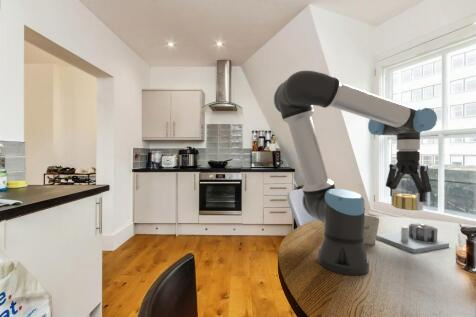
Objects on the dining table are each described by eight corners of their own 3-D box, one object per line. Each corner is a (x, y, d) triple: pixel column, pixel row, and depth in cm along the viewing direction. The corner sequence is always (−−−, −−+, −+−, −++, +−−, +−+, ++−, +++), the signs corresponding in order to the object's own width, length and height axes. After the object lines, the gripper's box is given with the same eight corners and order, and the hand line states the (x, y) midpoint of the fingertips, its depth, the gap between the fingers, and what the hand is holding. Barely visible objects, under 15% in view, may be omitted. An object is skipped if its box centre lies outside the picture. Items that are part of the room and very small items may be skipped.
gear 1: (410, 211, 89) (410, 198, 89) (387, 206, 98) (387, 194, 98) (426, 209, 93) (426, 196, 92) (403, 204, 101) (403, 193, 101)
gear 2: (427, 243, 93) (427, 228, 93) (403, 235, 102) (403, 222, 102) (442, 241, 96) (443, 226, 96) (418, 233, 105) (418, 220, 105)
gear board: (413, 253, 87) (414, 234, 87) (375, 238, 102) (375, 222, 102) (448, 247, 94) (449, 229, 94) (407, 234, 109) (408, 218, 109)
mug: (381, 246, 93) (382, 221, 93) (347, 243, 96) (348, 218, 95) (374, 239, 101) (374, 215, 101) (342, 236, 104) (343, 213, 104)
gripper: (445, 150, 86) (443, 213, 86) (389, 151, 106) (387, 201, 107) (431, 150, 83) (429, 214, 84) (376, 150, 104) (375, 202, 104)
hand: (406, 207), depth 95 cm, fingers closed on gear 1, 9 cm apart
